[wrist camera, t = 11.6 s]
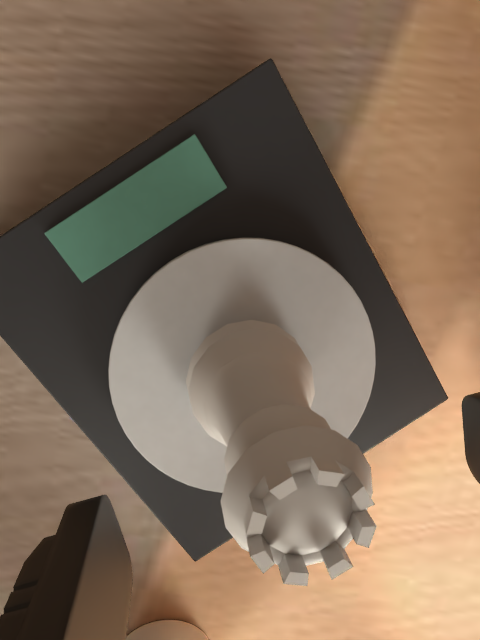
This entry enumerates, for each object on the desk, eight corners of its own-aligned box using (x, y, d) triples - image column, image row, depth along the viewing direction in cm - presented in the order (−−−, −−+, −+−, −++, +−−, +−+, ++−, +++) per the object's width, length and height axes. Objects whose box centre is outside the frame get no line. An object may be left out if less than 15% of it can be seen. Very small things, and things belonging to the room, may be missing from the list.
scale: (-28, 265, 16) (-69, 275, 13) (260, 76, 16) (277, 47, 13) (193, 529, 20) (195, 578, 17) (423, 381, 20) (461, 406, 17)
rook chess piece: (319, 404, 16) (446, 572, 9) (211, 447, 16) (242, 659, 8) (283, 298, 15) (393, 383, 7) (166, 343, 15) (153, 480, 7)
